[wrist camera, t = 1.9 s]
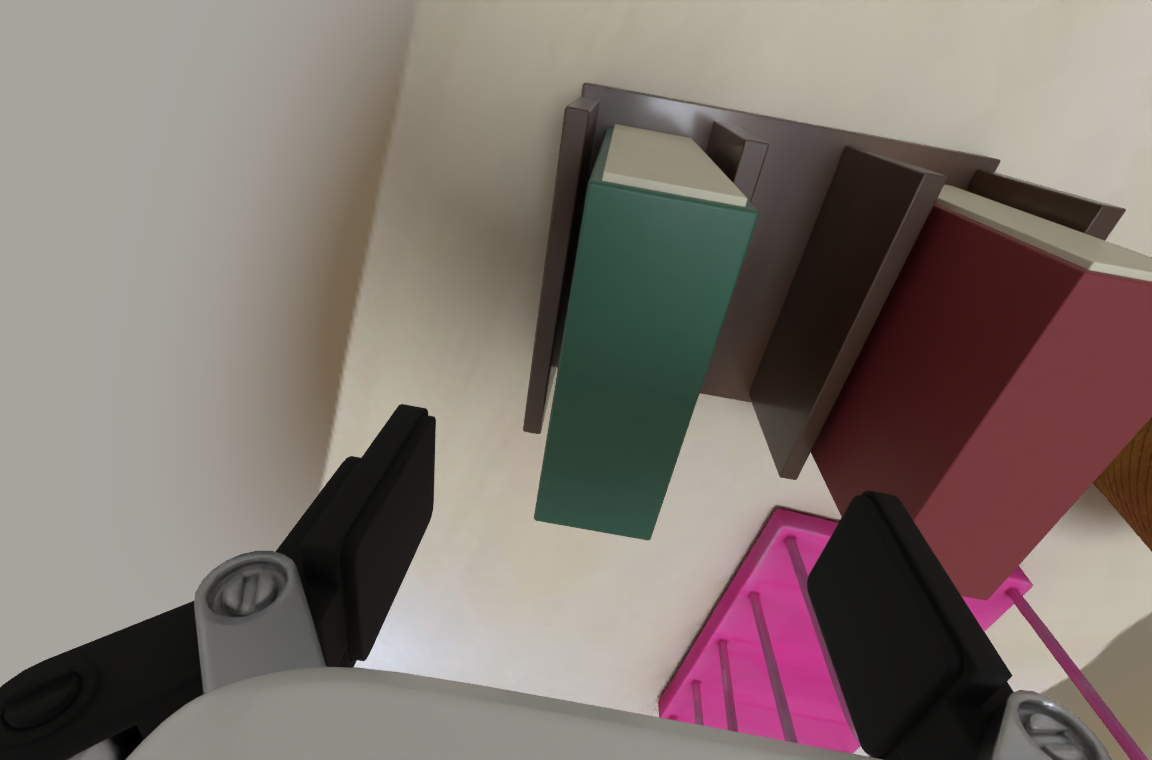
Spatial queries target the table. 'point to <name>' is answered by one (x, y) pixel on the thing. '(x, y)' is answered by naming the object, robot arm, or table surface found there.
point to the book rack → (785, 246)
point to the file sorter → (805, 649)
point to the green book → (639, 327)
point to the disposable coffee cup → (1132, 483)
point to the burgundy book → (994, 383)
